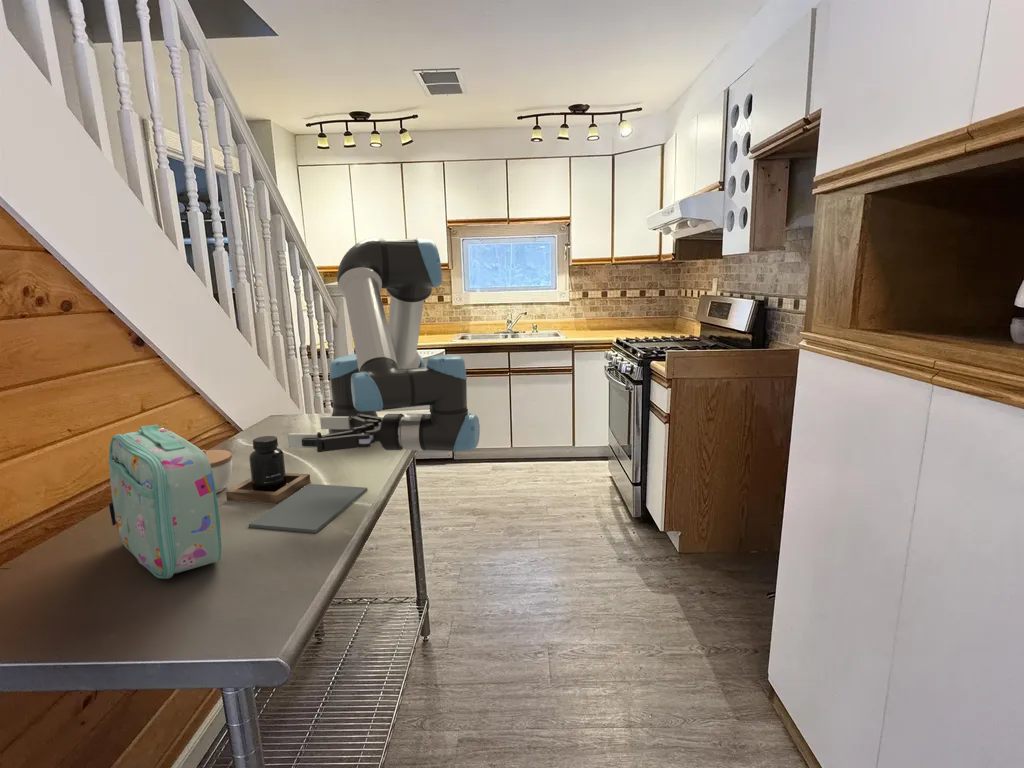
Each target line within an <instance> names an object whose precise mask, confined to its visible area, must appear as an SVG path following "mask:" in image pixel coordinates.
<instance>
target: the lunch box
mask: <svg viewBox="0 0 1024 768" xmlns="http://www.w3.org/2000/svg"><path fill="white" fill-rule="evenodd" d="M202 450H203V449H201V448H200V447H198V446H196V445H195V444H193V443H191V442H190V441H188V440H187V439H185V438H183V437H182V436H180V435H179V434H176V433H175V432H173V431H171V430H169V429H167V428H159V425H158V424H151V425H141V426H140V429H139V430H137V431H132V432H126V433H124V434H122V433H116V434H115V435H114V436H113V437H111V440H110V443H109V452H108V453H109V454H108V465H109V479H110V480H109V481H110V489H111V490H110V491H111V498H112V499H111V500H112V502H110V503H109V504H108V506H109V507H108V508H109V513H110V518H111V524H112V526H115V525H116V528H117V531H118V533H119V536H120V539H121V542H122V544H123V546H124V547H125V549H127V550H128V551H129V552H130V553H131V554H132V555H133V556H134V557H135V558H136V560H137V561H138V564H140V565H142V566H143V567H144V568H145V569H147V570H148V571H149V572H150V573H151V574H153V576H154V577H156V578H157V579H165V580H166V579H170V578H172V577H173V576H174V574H179V573H183V572H185V571H190V570H193V569H196V568H200V567H203V566H206V565H209V564H214V563H217V562H219V561H220V559H221V557H222V538H221V536H222V534H221V520H220V512H219V511H220V510H219V503H218V497H217V493H216V489H215V483H214V478H213V473H212V469H211V465H210V463H209V460H208V458H207V456H206V455H205V453H204V452H203V451H202Z"/></svg>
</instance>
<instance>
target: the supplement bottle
mask: <svg viewBox="0 0 1024 768" xmlns="http://www.w3.org/2000/svg"><path fill="white" fill-rule="evenodd" d="M278 446H279V442H278V436H275V435H265V436H263V435H262V436H258V437H255V438H253V440H252V449H253V451H251V453H250V455H249V456H248V458H249V460H248V461H249V469H250V478H251V481H252V490H254V491H268V492H275V491H277V490H279V489H280V488H282V487H283V486H285V485H287V484H286V474H285V473H286V467H285V466H286V465H285V456H284V455H285V454H284V451H283V450H282V449H281V448H279V447H278Z"/></svg>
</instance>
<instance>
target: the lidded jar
mask: <svg viewBox="0 0 1024 768" xmlns="http://www.w3.org/2000/svg"><path fill="white" fill-rule="evenodd" d="M201 450H202V451H203V452H204V453H205V455H206V456H207V458H208V460H209V463H210V465H211V469H212V473H213V478H214V483H215V489H216V494H218V493H220V492H222V491H223V490H225V487H226V486H227V485H228V483H229V482H230V480H231V478H232V475H233V473H232V472H233V459H232V458H233V454H232V452H231V451H229V450H225V449H207V450H206V449H201ZM221 490H222V491H221Z"/></svg>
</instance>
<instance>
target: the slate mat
mask: <svg viewBox="0 0 1024 768" xmlns="http://www.w3.org/2000/svg"><path fill="white" fill-rule="evenodd" d="M367 491H368V487H362V486H347V485H334V484H321V483H320V484H319V483H309V484H308V485H306V486H305V487H303V488H302V489H300V490H299V491H297V492H296V493H294V494H293V495H291V496H290V497H288V498H287V499H285V500H283V501H282V502H280V503H279V504H275V506H274V507H272V508H269V510H267V511H266V512H264V513H262V514H261V515H260V516H259V517H256V518H255V519H254V520H252V521H251V522H249V523H248V528H257V529H267V530H279V531H291V532H299V533H300V532H302V533H313V534H314V533H315V534H317V533H318V532H319V531H320V530H321V529H322V528H324V527H325V526H326V525H328V523H330V522H332V521H333V519H335V518H336V517H337V516H339V514H341V513H342V512H343V511H345V510H346V509H347V508H348V507H349V506H350V505H352V504H353V503H354V502H355V501H356V500H357V499H359V498H360V497H361V496H362V495H364V494H365V493H366V492H367Z"/></svg>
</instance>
